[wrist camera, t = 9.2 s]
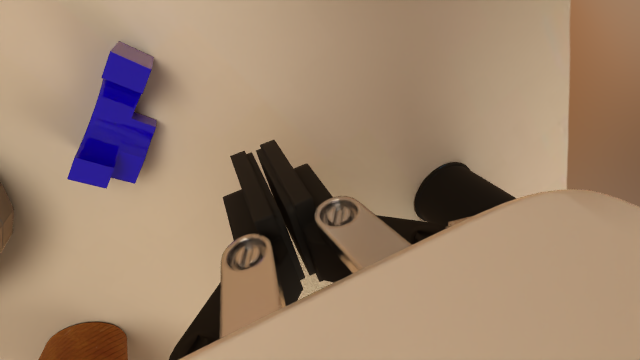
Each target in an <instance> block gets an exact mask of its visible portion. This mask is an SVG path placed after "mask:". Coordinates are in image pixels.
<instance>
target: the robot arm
mask: <svg viewBox="0 0 640 360" xmlns="http://www.w3.org/2000/svg"><path fill="white" fill-rule="evenodd" d="M260 147H261V149H259V150H256V152H257V155H258V157H259V160H260V163H261V165H262V168H263V171H264V173H265V176H266V179H267V181H268V184H269V187H270V189H271V191H270V189H269V187H268V185H267V183H266V181H265V179H264V177H263V175H262V173H261V171H260V168H259V166H258V164H257V162H256V160H255V158H254V156H253V154H252V152H251V153H248V154H246V153H245V151H243V152H240V153H237V154H235V155H232V156H230V157H231V160H232V163H233V165H234V168H235V171H236V174H237V177H238V179H239V182H240V185H241V188H242V190H239V191H237V192H234V193H232V194H229V195H227V196H224V197H223V200H224V204H225V208H226V212H227V216H228V220H229V223H230V227H231V231H232V235H233V239H234V241H233V242H232V243H231V244H230V245H229V246H228V247H227V248H226V249H225V251H224V253H223V255H222V259H221V282H220V284H219V285H218V287H217V288H216V290H215V291H214V292H213V294H212V295H211V297H210V298H209V300H208V301H207V302H206V304H205V305H204V307H203V308H202V309H201V311H200V312H199V314H198V315H197V317H196V318H195V319H194V321H193V322H192V324H191V325H190V326H189V328H188V329H187V331H186V332H185V334H184V335H183V336H182V338H181V339H180V341H179V342H178V343H177V345H176V346H175V348H174V350H173V352H172V353H171V355H170V358H169V360H640V207H638V206H636V205H633V204H631V203H629V202H626V201H624V200H621V199H618V198H616V197H613V196H610V195H606V194H603V193H599V192H595V191H590V190H578V189H577V190H576V189H569V190H556V191H548V192H540V193H536V194H532V195H528V196H524V197H520V198H517V199H514V200H511V201H508V202H505V203H503V204H500V205H498V206H496V207H493V208H491V209H489V210H486V211H484V212H481V213H479V214H477V215H474V216H471V217H467V218H463V219H459V220H455V221H451V222H448V226H447V227H444V226H442V225H439V224H435V223H430V222H422V221H415V220H407V219H400V218H392V217H385V216H377V215H375V214H374V213H372V212H371V211H370V210H369V209H367V208H366V207H365V206H364V205H362V204H361V203H360V202H359V201H357V200H356V199H354V198H351V197H347V196H338V197H332V196H331V194H330V193H329V192H328V190H327V189H326V188H325V186H324V185H323V184H322V182H321V181H320V180H319V178H318V177H317V176H316V174H315V173H314V172H313V170H312V169H311V168H310V166H309V165H308V164H304V165H301V166H299V167H297V168H294V169H293V167H292V166H291V164H290V163H289V161H288V160H287V158H286V157H285V155H284V154H283V152H282V151H281V149H280V148H279V146H278V145H277V143H276V142H275V140H272V141H269V142H266V143H264V144H261V145H260ZM271 192H272V193H271ZM272 194H273V195H272ZM286 227H287V228H286ZM287 229H288V230H287ZM288 231H289V233H290V235H291V237H292V240H293V242H294V244H295V246H296V248H297V250H298V252H299V254H300V256H301V258H302V260H303V262H304V265H305V267H306V269H307V271H308V273H309V275H312V274H314V273H316V275H317V277H318V279H319V281H320V282H321V281H323V280H325V281H330V282H333V284H330V285H328V286H326V287H324V288H322V289H320V290H318V291H316V292H314V293H312V294H310V295H308V296H306V297H304V298H302V299H300V300H298V298H299V296H300V294H301V291H302V290H303V287H302V285H301V282H300V280H302V279H304V278H305V276H304V273H303V270H302V268H301V265H300V262H299V260H298V257H297V254H296V252H295V249H294V246H293V244H292V241H291V238H290V236H289V233H288ZM297 300H298V301H297Z"/></svg>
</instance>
